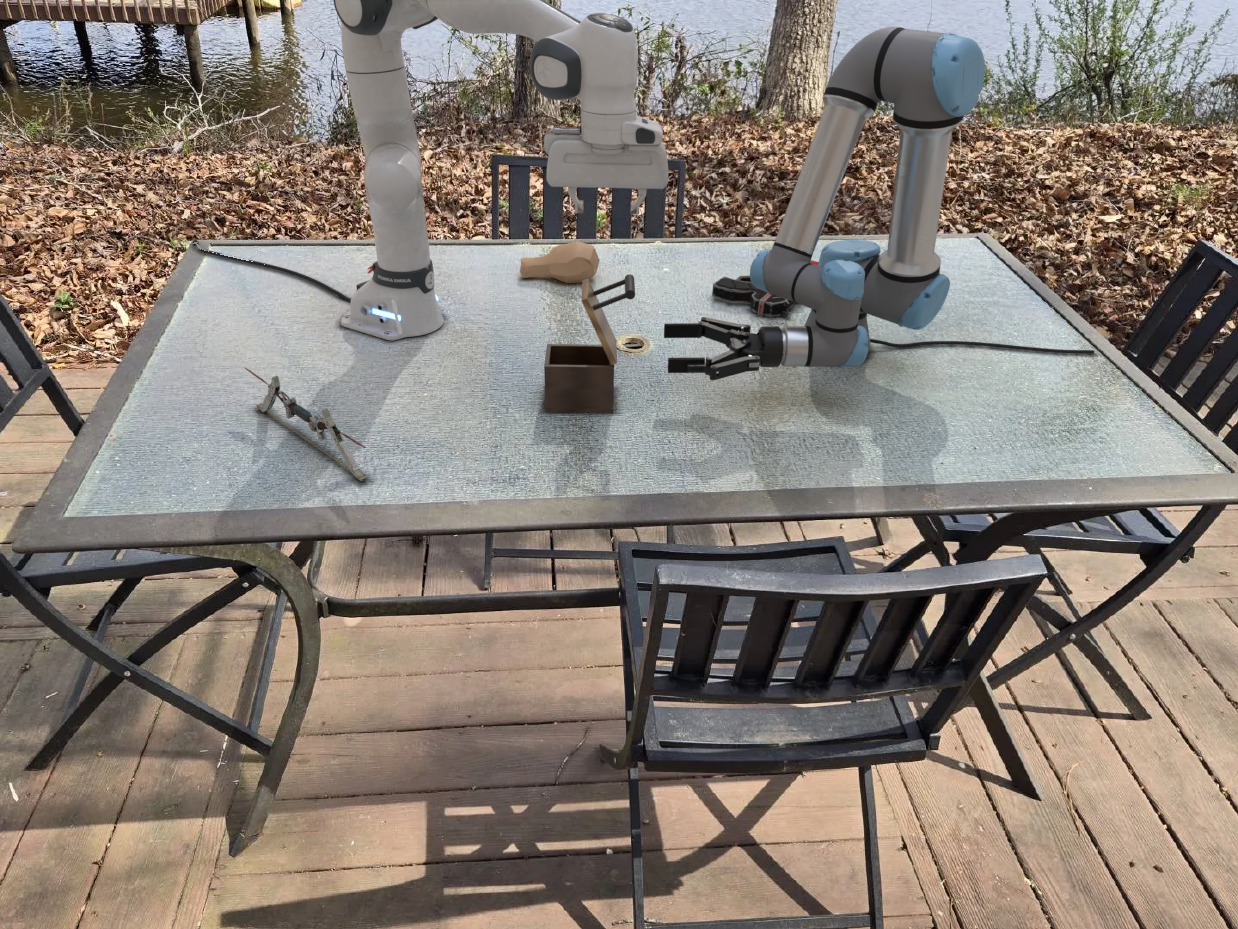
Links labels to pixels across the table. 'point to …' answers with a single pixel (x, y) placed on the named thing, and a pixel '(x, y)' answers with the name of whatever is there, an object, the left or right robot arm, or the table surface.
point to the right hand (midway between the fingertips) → (665, 347)
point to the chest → (578, 379)
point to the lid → (598, 315)
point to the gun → (751, 296)
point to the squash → (564, 263)
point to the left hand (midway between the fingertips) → (606, 212)
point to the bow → (311, 423)
